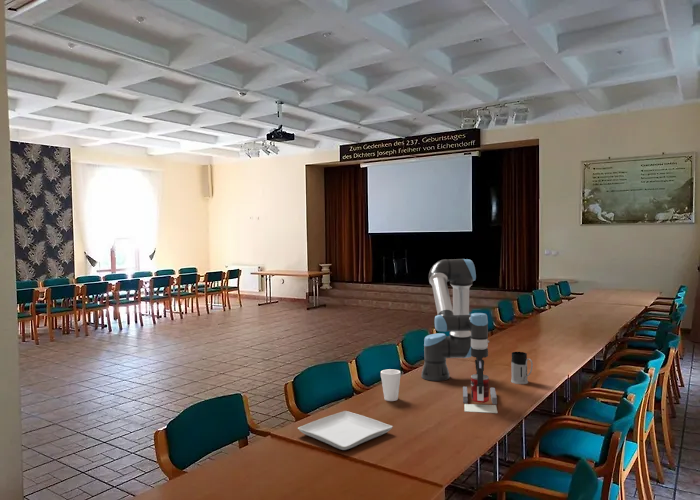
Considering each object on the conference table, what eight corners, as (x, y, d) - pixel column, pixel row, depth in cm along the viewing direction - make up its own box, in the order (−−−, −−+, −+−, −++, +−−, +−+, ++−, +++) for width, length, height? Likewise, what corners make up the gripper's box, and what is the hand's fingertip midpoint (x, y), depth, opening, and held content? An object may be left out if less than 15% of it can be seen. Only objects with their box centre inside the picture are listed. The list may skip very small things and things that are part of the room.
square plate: (296, 436, 206) (296, 426, 205) (346, 418, 225) (345, 409, 225) (344, 456, 186) (344, 445, 186) (394, 434, 206) (394, 424, 205)
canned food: (475, 396, 243) (475, 373, 243) (492, 399, 238) (491, 375, 238) (468, 400, 237) (467, 376, 237) (484, 404, 232) (484, 379, 232)
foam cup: (384, 402, 243) (384, 375, 243) (378, 397, 252) (378, 370, 252) (404, 400, 246) (403, 373, 245) (397, 395, 255) (396, 368, 254)
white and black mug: (520, 378, 279) (520, 350, 279) (539, 385, 266) (539, 356, 266) (507, 380, 276) (506, 352, 276) (525, 387, 263) (525, 358, 262)
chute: (463, 411, 229) (463, 404, 229) (462, 392, 257) (462, 386, 257) (498, 413, 226) (498, 406, 226) (494, 393, 254) (494, 387, 254)
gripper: (489, 352, 226) (489, 405, 227) (486, 343, 246) (487, 391, 247) (471, 352, 228) (472, 404, 228) (470, 342, 248) (471, 390, 248)
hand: (480, 397), depth 238 cm, fingers closed on canned food, 8 cm apart
